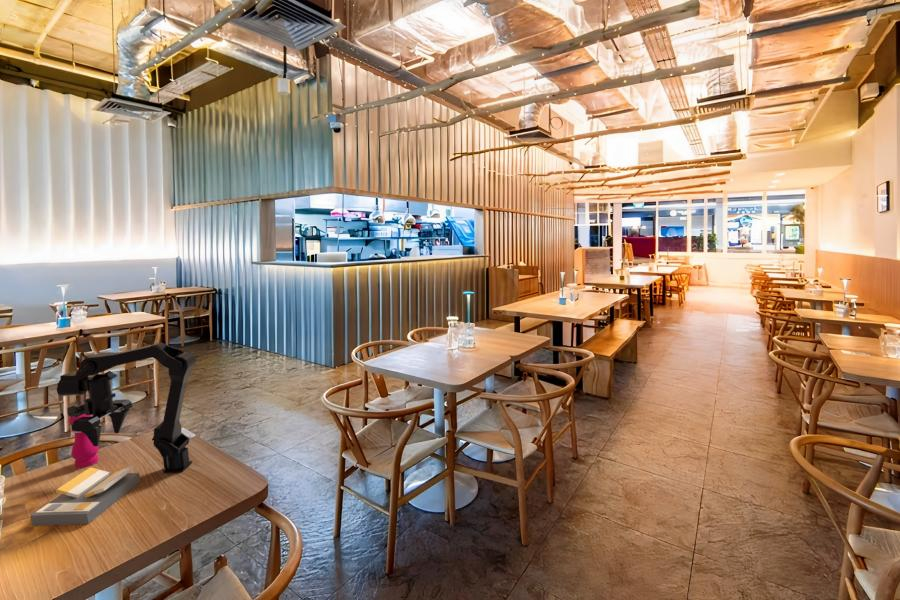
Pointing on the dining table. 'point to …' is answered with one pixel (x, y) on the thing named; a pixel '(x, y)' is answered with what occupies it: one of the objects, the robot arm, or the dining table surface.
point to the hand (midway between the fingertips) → (106, 439)
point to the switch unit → (83, 504)
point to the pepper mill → (83, 448)
